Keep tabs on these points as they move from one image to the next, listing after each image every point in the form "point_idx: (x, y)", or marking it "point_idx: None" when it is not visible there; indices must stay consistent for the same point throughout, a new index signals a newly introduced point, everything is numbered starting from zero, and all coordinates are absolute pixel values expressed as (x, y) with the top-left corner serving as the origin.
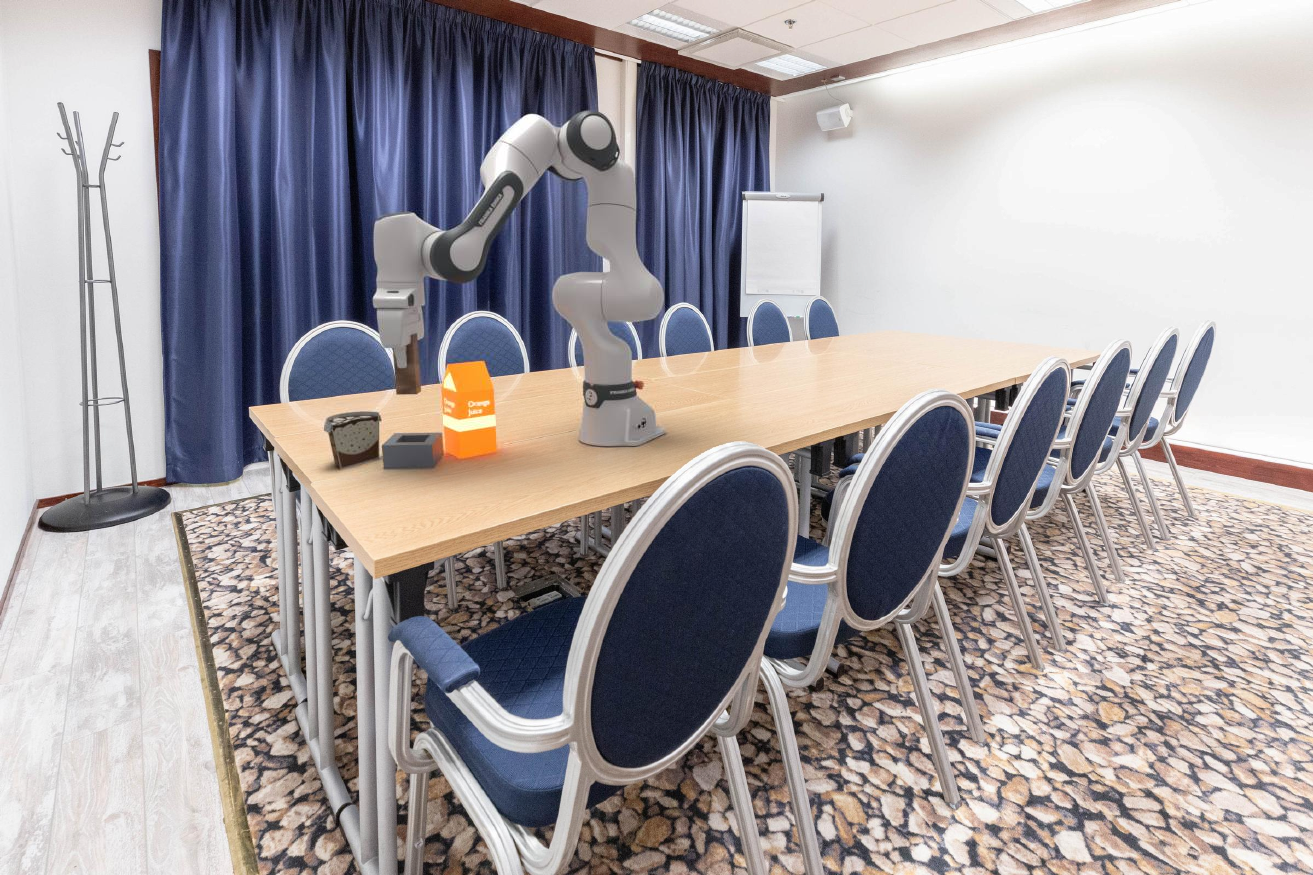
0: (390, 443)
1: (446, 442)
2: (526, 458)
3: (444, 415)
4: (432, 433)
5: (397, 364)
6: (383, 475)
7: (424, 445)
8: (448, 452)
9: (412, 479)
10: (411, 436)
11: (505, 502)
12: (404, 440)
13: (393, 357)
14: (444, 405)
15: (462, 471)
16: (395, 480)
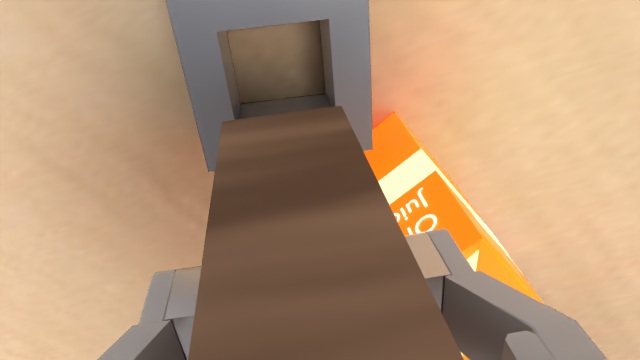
0: (198, 19)
1: (394, 131)
2: None
3: (422, 176)
4: (358, 123)
5: (150, 287)
6: (110, 8)
7: (202, 147)
8: (378, 125)
9: (96, 114)
10: (330, 54)
11: (5, 345)
12: (326, 22)
13: (201, 280)
14: (431, 203)
15: (198, 213)
16: (72, 68)
